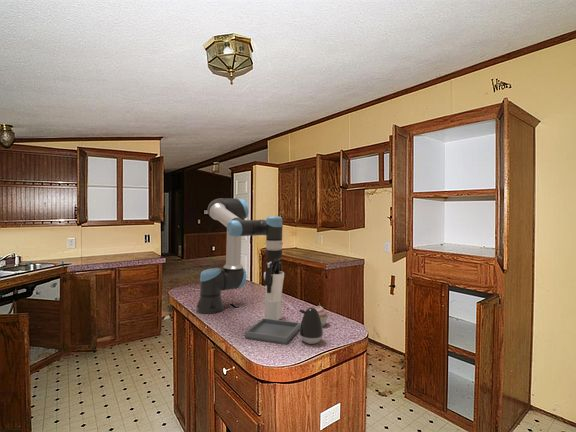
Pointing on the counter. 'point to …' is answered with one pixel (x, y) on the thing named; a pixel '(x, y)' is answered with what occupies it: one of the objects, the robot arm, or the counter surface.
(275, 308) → the milk carton
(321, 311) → the cupcake
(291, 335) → the tray
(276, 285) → the foam cup
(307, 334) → the pump dispenser
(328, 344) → the counter surface
